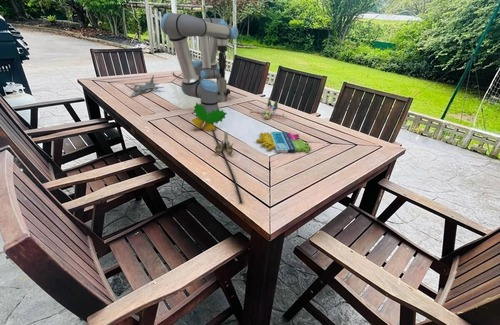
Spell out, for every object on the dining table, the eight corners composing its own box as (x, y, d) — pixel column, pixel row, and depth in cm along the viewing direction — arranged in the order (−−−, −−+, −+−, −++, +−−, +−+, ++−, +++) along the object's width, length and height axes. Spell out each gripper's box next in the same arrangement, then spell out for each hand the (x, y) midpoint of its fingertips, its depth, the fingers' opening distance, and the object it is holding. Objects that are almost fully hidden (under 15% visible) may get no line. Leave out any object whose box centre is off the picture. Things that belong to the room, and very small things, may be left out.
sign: (313, 150, 142) (258, 149, 139) (312, 153, 143) (258, 152, 140) (301, 132, 164) (254, 130, 161) (301, 134, 165) (254, 133, 162)
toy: (290, 101, 205) (286, 112, 179) (289, 110, 208) (285, 122, 182) (256, 97, 210) (247, 107, 184) (255, 106, 213) (246, 117, 187)
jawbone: (234, 135, 144) (233, 125, 135) (233, 160, 138) (232, 151, 129) (217, 135, 144) (216, 125, 135) (216, 160, 138) (214, 150, 129)
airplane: (124, 87, 237) (122, 75, 232) (159, 84, 250) (158, 74, 245) (128, 99, 208) (126, 87, 203) (168, 96, 222) (167, 84, 217)
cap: (221, 77, 207) (221, 74, 206) (218, 76, 210) (218, 73, 209) (225, 77, 210) (225, 74, 209) (222, 76, 213) (222, 73, 212)
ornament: (218, 133, 171) (224, 110, 169) (221, 134, 163) (227, 111, 161) (186, 125, 162) (192, 101, 160) (189, 126, 155) (195, 101, 153)
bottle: (225, 102, 217) (226, 76, 206) (217, 101, 216) (217, 75, 206) (226, 99, 223) (226, 74, 213) (217, 99, 223) (217, 73, 212)
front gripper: (230, 46, 193) (229, 79, 205) (223, 44, 207) (223, 74, 218) (220, 46, 191) (220, 79, 202) (214, 43, 204) (214, 74, 216)
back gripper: (232, 92, 235) (234, 99, 216) (209, 91, 232) (209, 99, 213) (232, 84, 232) (234, 90, 212) (209, 83, 229) (209, 89, 209)
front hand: (222, 76), depth 210 cm, fingers closed on cap, 4 cm apart
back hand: (222, 94), depth 212 cm, fingers closed on bottle, 7 cm apart
